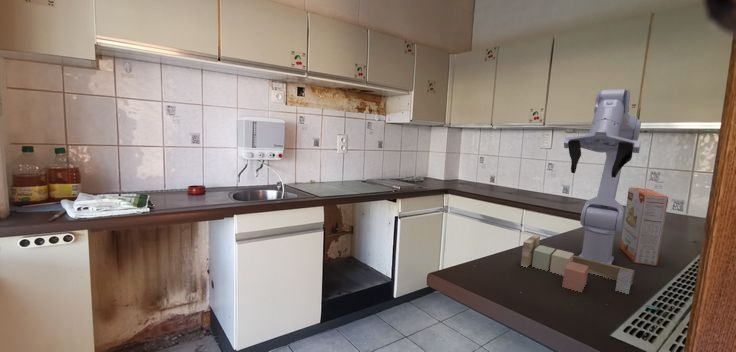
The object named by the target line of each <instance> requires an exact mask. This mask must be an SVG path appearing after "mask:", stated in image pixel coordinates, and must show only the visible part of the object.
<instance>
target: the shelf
mask: <svg viewBox="0 0 736 352" xmlns="http://www.w3.org/2000/svg"><path fill="white" fill-rule="evenodd" d="M540 239H541V235H538V234H533V235H532V236H530V237H528V238H527V239H526V240H525V241H523V243H522V244H523V245H522V251H521V261H520V267H521V266H523V267H522V268H524V267H526V268H525V269H528V268H529V267H530V266H532V261H533V253H534V250H535V249H536V248H537V247H538V246H539V245H540ZM578 256H579V255H574V256H573V262H575V263H579V264H583V265H586V266H589V268H588V274H589V273H590V275H593V274H595V275H594V276H597V275H599V276H598V277H600V276H603V277H602V278H604V277H605V278H604V279H608V278H609V279H608V280H611V279H612V281H615V280H616V282H617V277H618V273H619V271H620V269H624V270H628V271H632V272H633V274H632V280H631V286H633V282H634V276H635V269H630V268H628V267H627V268H626V267H623V266H618V265H616V264H615V265H614V264H611V265H610V264H606V263H602V262H598V261H594V260H590V259H586V258H582V257H578ZM529 265H530V266H529ZM528 266H529V267H528ZM527 267H528V268H527Z"/></svg>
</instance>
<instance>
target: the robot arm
mask: <svg viewBox="0 0 736 352" xmlns="http://www.w3.org/2000/svg"><path fill="white" fill-rule="evenodd" d="M630 98H631V92H630V89H626V88H619V89H618V88H616V89H614V88H613V89H602V90H601V91H600V92H599V91H598V92H597V94H596V97H595V103H594V111H593V112H594V114H593V119H592V121H591V125H590V127H589V132H588V134H583V135H578V136H572V137H566V136H565V138H564V140H563V141H564V142H563V148H564V149H568V154H569V158H570V160H571V164H570V171H571V172H570V173H571V174H575V173H576V171H577V168H578V163H579V161H580V158H581V156H582V150H581V149H584V150H589V151H592V152H597V153H603V154H604V153H605V156H606V158H605V162H604V166H603V169H602V174H601V177H600V183H599V187H598V191H597V195H596V196H595V197H593V198H589V199H588V200H586V201H585V202H584V206H583V207H582V209H581V214H580V221H579V224H580V225H581V227H583V229H584V236H583V244H582V249H581V250H582V251H581V253H580V254H578V255H577V256H578V257H582V258H586V259H590V260H594V261H598V262H602V263H606V264H610V265H613V262H614V259H615V256H613V255H612V253H613V249H614V248H613V247H614V240H615V234H619V233H621V231H622V230H623V224H624V218H625V208H624V206H623V205H622V204H621V203H619V202H618V201H617V200H616V196H617V191H618V186H619V181H620V176H621V172H622V168H623V167H624V166H625V165H626V164H627V163H629V162H630V161H631V160H632V158H633V154H639V153H640V150H641V145H642V144H641V143H642V142H641V140H639V138H640V131H641V125H642V122H641V120H640V118H639V119H638V116H637V115H633V114H631V113H629V111H630V106H629V105H630V101H631V99H630Z"/></svg>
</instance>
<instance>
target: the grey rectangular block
mask: <svg viewBox="0 0 736 352" xmlns="http://www.w3.org/2000/svg"><path fill="white" fill-rule="evenodd" d="M632 274H633V272H632V271H628V270H624V269H620V271H619V273H618V277H617V281H616V283H615V284H616V285H615V291H614V292H616V291H619V292H618V293H620V292H622V293H621V294H623V293H625V294H624V295H627V294H628V295H629V293H630V291H631V286H632V285H631V280H632Z"/></svg>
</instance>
